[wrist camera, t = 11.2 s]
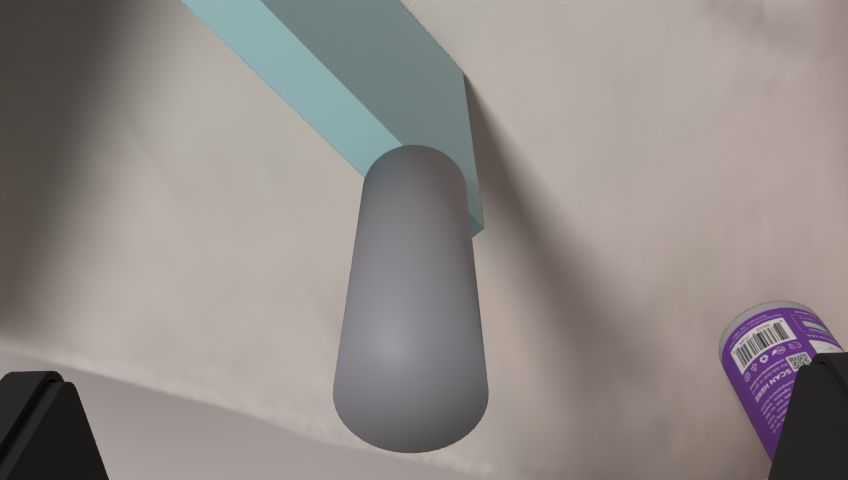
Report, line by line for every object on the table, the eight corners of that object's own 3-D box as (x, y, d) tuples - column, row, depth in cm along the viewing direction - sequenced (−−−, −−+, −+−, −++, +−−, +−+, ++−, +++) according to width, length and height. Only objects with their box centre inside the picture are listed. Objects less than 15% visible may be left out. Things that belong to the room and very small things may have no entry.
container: (716, 388, 37) (874, 714, 24) (719, 307, 35) (897, 619, 22) (818, 376, 37) (1034, 701, 24) (829, 294, 34) (1075, 603, 21)
